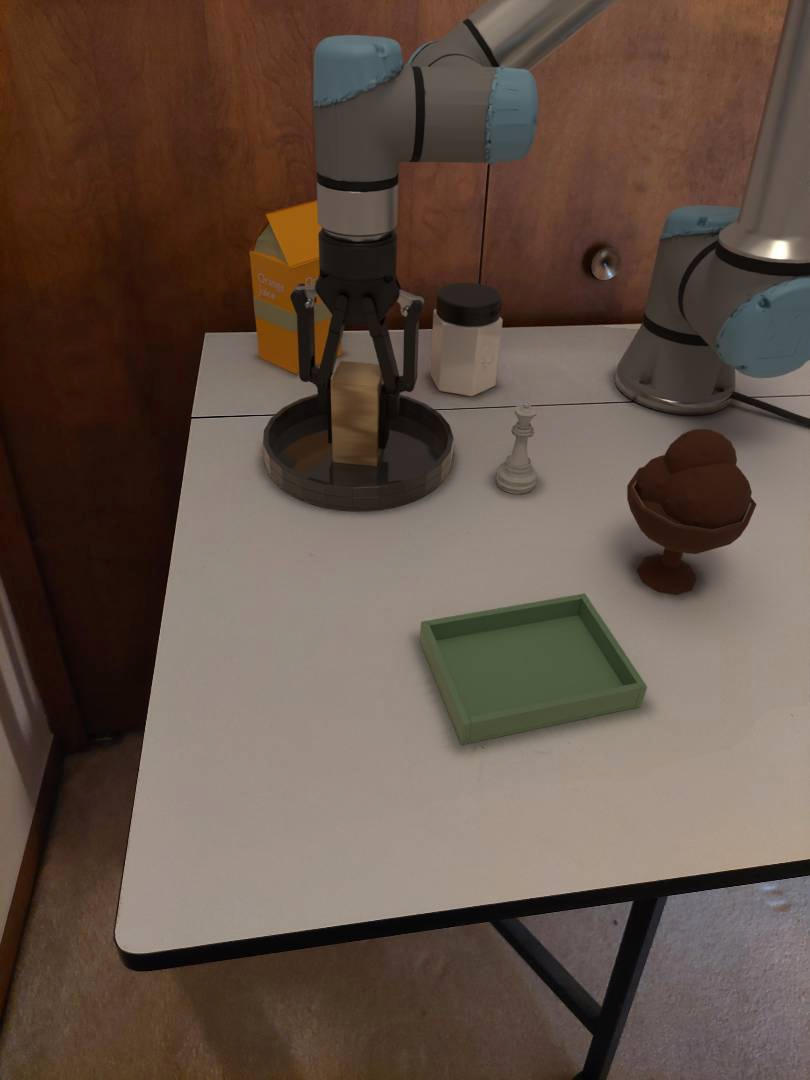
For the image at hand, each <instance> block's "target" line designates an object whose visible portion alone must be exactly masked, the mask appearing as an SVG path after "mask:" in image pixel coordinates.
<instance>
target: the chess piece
mask: <svg viewBox="0 0 810 1080" xmlns="http://www.w3.org/2000/svg"><path fill="white" fill-rule="evenodd" d="M513 412H514V414H515V415H516V417H517V421H516V423H515V424H513V425H512V427H511V434H512V435H513V436H514V437H515V439H514V445H513V447H512V451H511V453H510V454H508V455H507V456H506V458H505V461H503V462H502V463H500V465H498V467H497V471H496V475H495V483H496V485H497V487H499V488H500V489H501V490H502V491H504V492H507V493H510V494H516V495H520V494H521V495H522V494H527V493H529V492H532V491H533V490H534V489H535V487H536V483H537V473H538V472H537V470H536V468H535V467H534V466H533V465H532V459H531V458H530V457H529V454H528V439H530V438H531V437H533V436H534V434H535V428H534V427H533V426H532V423H531V421H532V420H533V419H534V418H535V417H536V416H537V414H538V410H537V408H535V407H534V406H531V405H530V403H529V402H528V401H525V402H524V403H522V404H520V405H517V406H515V407H514V410H513Z"/></svg>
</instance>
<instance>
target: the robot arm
mask: <svg viewBox="0 0 810 1080" xmlns="http://www.w3.org/2000/svg"><path fill="white" fill-rule="evenodd" d="M618 1H619V0H486V1H485V2H483V3H482V4H481V5H480V6H479V7H477V8H476V9H475V10H474V11H473V12H472V13H471V14H469V15H468V16H467V17H466V19H464V20H463V21H462V22H460V23H459V24H458V25H456V26H455V27H454V28H453V29H452V30H450V32H448V33H447V34H445V35H444V36H443V37H442V38H440V39H437V40H436V39H435V40H432V41H430V42H426V43H424V44H423V45H421V46H419V47H418V48H417V49H416V50H415V51H414V52H413V53H412V55H411V56H410V58H409V59H408V61H407V63H406V64H405V63H404V62H405V60H404V59H403V56H402V55H403V52H402V51H403V50H402V46H401V45H400V43H399V42H398V41H397V40H395V39H393V38H389V37H384V36H377V35H376V36H375V35H374V36H370V35H363V34H362V35H361V34H352V35H351V34H345V35H344V34H343V35H334V36H333V35H332V36H329V37H325V38H324V39H322V40H321V41H320V42H319V43H318V44H317V46H316V48H315V49H314V52H313V89H312V90H313V96H312V109H313V126H314V127H313V129H314V130H313V131H314V148H315V165H316V166H315V168H316V169H315V170H316V200H317V215H318V225H319V226H320V227H321V228H322V229H321V231H320V232H319V234H318V240H319V269H320V273H319V277H318V279H317V281H316V283H313V284H310V285H305V284H303V283H300V284H298V285H297V286H296V288H295V289H294V291H293V292H292V294H291V296H290V298H291V301H292V304H293V306H294V309H295V311H296V314H297V331H298V356H299V373H298V377H299V379H300V381H301V382H304V383H311V384H313V385H314V386H315V387H316V390H317V392H316V393H317V394H318V409H319V412H320V413H325V414H327V421H328V443H332V415H331V380H332V377H333V375H334V369H335V366H336V362H337V358H338V356H337V354H338V350H339V346H340V342H341V343H342V338H343V335H344V330H345V326H352V325H359V326H362V327H364V328H367V329H368V333H369V336H370V338H371V340H372V343H373V347H374V350H375V354H376V358H377V362H378V364H379V366H380V370H381V374H382V378H383V382H384V385H383V387H382V390H381V393H380V396H379V449H385V448H386V445H387V442H388V438H389V420H396V418H397V416H398V412H399V398H400V395H401V393H403V392H405V393H406V392H407V393H411V392H413V391H414V389H415V387H416V383H417V380H418V370H419V369H418V366H419V364H418V362H419V336H420V335H419V334H420V333H419V332H420V331H419V330H420V329H419V328H420V317H421V314H422V312H423V310H424V307H425V303H426V296H425V295H424V294H423V293H420V292H419V293H415V294H412V293H411V292H408V291H405V290H403V289H402V286H401V283H400V281H399V280H398V275H397V256H398V234H397V232H396V231H395V230H394V229H395V228H396V227H397V225H398V221H399V219H398V218H399V217H398V216H399V169H400V163H463V164H464V163H469V164H471V163H472V164H476V163H477V164H484V163H485V164H487V165H493V164H498V163H509V162H519V161H521V160H523V159H524V158H526V156H528V154H529V152H530V151H531V149H532V147H533V144H534V140H535V136H536V132H537V126H538V120H539V119H538V118H539V93H538V86H537V85H538V84H537V82H536V79H535V77H534V75H533V73H532V72H531V71H532V70H533V69H534V68H535V67H537V66H538V65H539V64H541V63H542V62H543V61H544V60H546V59H547V58H548V57H549V56H550V55H552V54H553V53H555V52H556V51H557V50H558V49H559V48H561V47H563V45H565V44H566V43H567V42H569V40H571V39H572V38H573V37H575V36H576V35H577V34H578V33H580V32H581V31H582V30H583V29H584V28H586V27H587V26H588V25H589V24H591V23H592V22H593V21H594V20H596V19H597V18H598V17H600V16H601V15H602V14H603V13H605V12H606V11H607V10H608V9H610V8H611V7H612V6H613V5H615V4H616V3H617V2H618ZM782 22H783V23H782V27H781V32H780V35H779V39H778V44H777V49H776V53H775V58H774V62H773V66H772V70H771V74H770V78H769V84H768V88H767V92H766V96H765V99H764V100H765V101H764V103H763V110H762V113H761V118H760V122H759V127H758V130H757V135H756V139H755V144H754V148H753V153H752V157H751V162H750V166H749V168H748V169H749V170H748V172H747V173H748V174H747V177H746V183H745V186H744V191H743V196H742V198H741V199H742V200H741V204H740V207H736V206H726V205H709V204H708V205H704V204H703V205H701V204H700V205H688V206H687V205H685V206H682V207H677V208H674V209H673V210H672V211H670V213H668V215H667V216H666V218H665V221H664V223H663V224H664V225H663V228H662V231H661V234H660V235H659V237H658V246H657V251H656V257H655V260H654V265H653V269H652V273H651V279H650V284H649V288H648V291H647V292H648V293H647V298H646V302H645V306H644V312H643V316H642V320H641V324H640V326H639V328H638V330H637V331H636V333H635V334H634V337H633V338H632V340H631V342H630V344H629V345H628V347H627V348H626V350H625V352H624V354H623V355H622V356H621V358H620V360H619V362H618V364H617V368H616V372H615V373H616V374H615V377H614V382H615V385H616V387H617V389H618V390H619V391H620V392H621V393H622V394H623V395H624V396H625V397H627V398H628V399H630V400H632V401H633V402H635V403H637V404H639V405H642V406H644V407H647V408H648V409H649V408H650V409H652V410H656V411H660V412H663V413H669V414H676V415H687V416H689V415H692V416H693V415H696V416H697V415H705V414H711V413H715V412H718V411H721V410H723V409H724V408H726V407H727V406H729V404H730V403H731V402H732V400H734V401H739V402H740V403H744V404H746V405H748V406H751V407H754V408H757V409H760V410H763V411H765V412H768V413H771V414H773V415H776V416H779V417H781V418H784V419H786V420H788V421H791V422H795V423H798V424H800V425H804V426H807V427H810V417H807V416H804V415H800V414H798V413H794V412H792V411H789V410H786V409H784V408H781V407H778V406H777V405H773V404H771V403H768V402H766V401H762V400H760V399H756V398H754V397H751V396H750V395H749V396H748V395H747V394H744V393H743V394H742V393H740V392H737V391H735V389H736V371H737V372H739V373H740V374H742V375H744V376H746V377H749V378H754V379H771V378H778V377H781V376H785V375H788V374H790V373H793V372H795V371H797V370H798V369H801V368H803V366H804V365H805V364H806V363H807V362H809V361H810V0H788V1H787V5H786V9H785V14H784V18H783V21H782ZM317 295H318V296H319V297H320V298H321V300H322V301H323V303H324V304H325V305H326V307H327V308H328V310H329V311H330V312H331V314H332V318H331V322H330V326H329V332H328V336H327V340H326V344H325V349H324V353H323V357H322V361H321V364H319V365H320V366H319V367H317V365H316V363H315V325H314V305H315V303H316V301H317V298H316V296H317ZM396 303H397V304H399V306H400V314H401V316H403V317H405V320H404V324H403V356H402V359H403V360H402V361H403V362H402V375H400V373H399V369H398V368H399V367H398V365H397V359H396V356H395V353H394V348H393V343H392V340H391V335H390V332H389V327H388V318H387V314H388V312H389V311H391V309H392V308H393V306H394V305H395V304H396Z"/></svg>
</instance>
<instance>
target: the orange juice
mask: <svg viewBox="0 0 810 1080" xmlns="http://www.w3.org/2000/svg"><path fill="white" fill-rule="evenodd" d="M321 229H322V228H321V227H320V226H319V225H318V215H317V199H315V200H311V201H307V202H304V203H303V202H302V203H300V204H296V205H291V206H288V207H284V208H281V209H278V210H273V211H269V212H266V213H265V215H264V217H263V220H262V222H261V224H260V227H259V229H258V231H257V234H256V236H255V238H254V241H253V243H252V245H251V248H250V249H249V259H250V260H249V261H250V271H251V272H250V273H251V282H252V283H251V285H252V294H253V295H252V299H253V309H254V310H253V311H254V316H255V317H254V318H255V329H256V339H257V350H258V351H257V352H258V358H260V359H262V360H264V361H266V362H269V363H271V364H272V365H274V366H277V367H279V368H281V369H284V370H286V371H287V372H289V373H291V374H294V375H297V374H298V375H299V356H298V331H297V314H296V311H295V309H294V306H293V304H292V301H291V298H290V296H291V294H292V292H293V291H294V289H295V288H296V286H297V285H298V284H300V283H303V284H305V285H310V284H313V283H316V281H317V279H318V277H319V273H320V269H319V240H318V234H319V232H320V231H321ZM316 298H317V301H316V303H315V305H314V325H315V363H316V366H318V365H321V361H322V357H323V353H324V349H325V344H326V340H327V336H328V332H329V326H330V322H331V318H332V314H331V312H330V311H329V310H328V308H327V307H326V305H325V304H324V303H323V301H322V300H321V298H320V297H319V296H318V295H317V296H316ZM341 355H342V341H341V342H340V346H339V350H338V354H337V357H339V356H341Z"/></svg>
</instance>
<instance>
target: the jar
mask: <svg viewBox="0 0 810 1080" xmlns="http://www.w3.org/2000/svg"><path fill="white" fill-rule="evenodd" d="M502 301H503V296H502V293H501V292H500V291H499V290H497V289H496V288H494V287H491V286H489V285H486V284H482V283H476V282H454V283H449V284H447V285H443V286H442V287H440V288H439V289H438V291H437V293H436V308H434V309H433V313H432V315H433V316H432V334H431V350H430V351H431V352H430V368H429V369H430V370H429V375H430V377H431V379H432V381H433V383H434V384H435V386H436V388H437V390H438V391H439V392H443V393H449V394H456V395H461V396H466V397H467V396H468V397H474V396H476V395H479V394H481V393H483V392H485V391H488V390H489V389H492V388H494V387H495V386H496V384H497V375H498V366H499V357H500V347H501V340H502V331H503V330H502V329H503V322H504V321H503V317H501V312H502V307H503V302H502Z"/></svg>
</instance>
